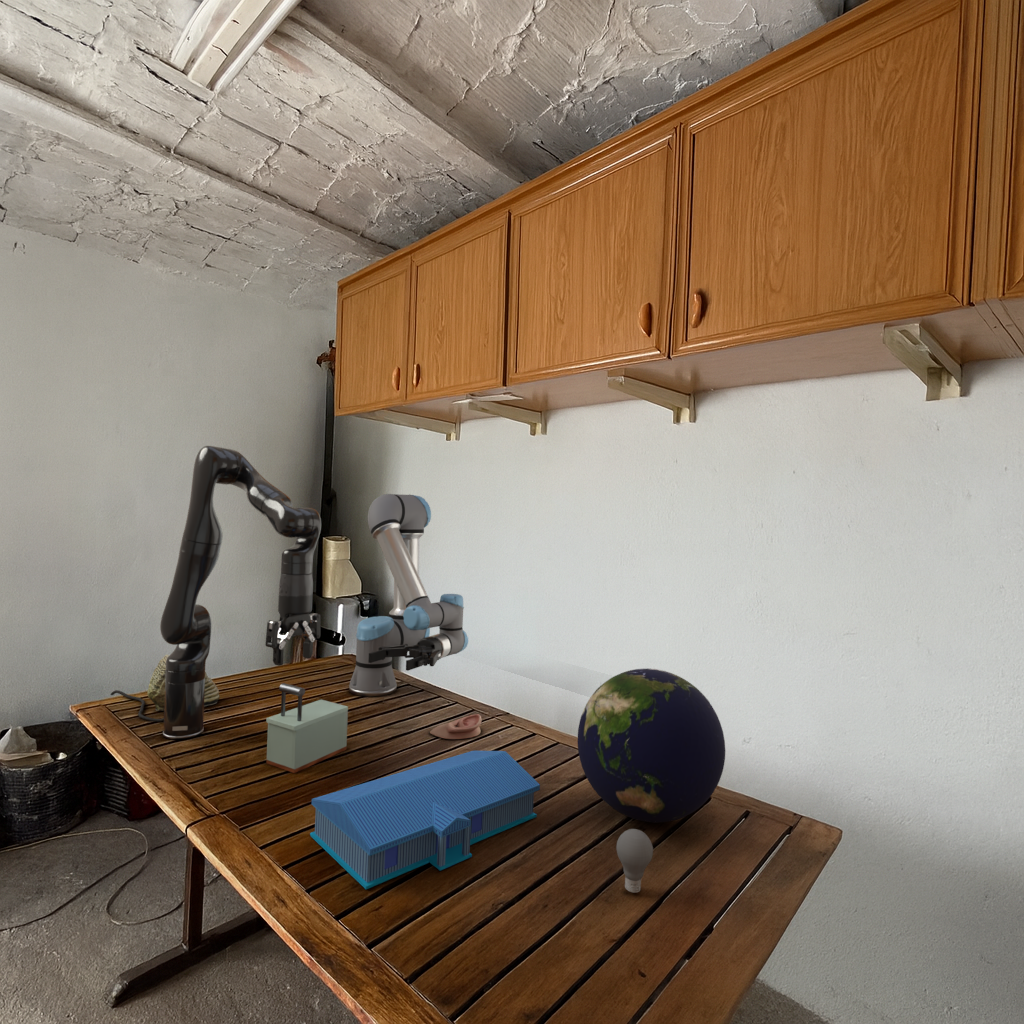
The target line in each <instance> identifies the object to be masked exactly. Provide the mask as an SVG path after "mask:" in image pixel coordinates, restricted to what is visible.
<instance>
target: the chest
mask: <svg viewBox="0 0 1024 1024" xmlns="http://www.w3.org/2000/svg"><path fill="white" fill-rule="evenodd" d="M348 718H349V710H348V711H345V712H343V713H340V714H337V715H335V716H332V717H329V718H327V719H324V720H321V721H319V722H316V723H314V724H311V725H308V726H306V727H303V728H300V729H298V730H295V731H293V730H290V729H287V728H284V727H280V726H277V725H274V724H270V723H267V736H266V737H267V738H266V739H267V741H266V760H265V761H266V764H267V765H270V766H273V767H276V768H279V769H281V770H283V771H287V772H290V773H293V774H296V773H298V772H300V771H303V770H305V769H307V768H309V767H311V766H313V765H316V764H318V763H320V762H322V761H324V760H326V759H329V758H331V757H333V756H335V755H338V754H339V753H342V752H344V751H347V748H348V747H347V746H348V745H347V743H348Z"/></svg>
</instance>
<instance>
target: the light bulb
mask: <svg viewBox="0 0 1024 1024" xmlns="http://www.w3.org/2000/svg"><path fill="white" fill-rule="evenodd" d="M615 849H616V854H617V857H618V859H619V861H620V863H621V865H622V867H623V873H624V874H623V875H624V876H625V878H624V888H625V890H627V891H628V892H630V893H634V894H635V893H639V892H640V891H641V889H642V887H641V886H642V879H643V877H644V875H645V871H646V868H647V867H648V866H649V864H650V863H651V861H652V859H653V855H654V847H653V843H652V841H651V838H649V836H648V835H647V834H646V833H645V832H643V831H642V830H641V829H636V828H629V829H627V830H625V831H623V832H622V833H621V834H620V835H619V837H618V839H617V841H616V847H615Z"/></svg>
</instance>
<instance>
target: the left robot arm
mask: <svg viewBox="0 0 1024 1024" xmlns="http://www.w3.org/2000/svg"><path fill="white" fill-rule="evenodd" d="M216 484H219V485H226V486H227V485H231V486H234V487H237V488H239V489H241V490H243V491H244V492H245V495H246V499H247V502H248V503H249V504H250V505H251V506H252V507H253V508H254V510H256V511H257V512H259V513H260V514H261V515H263V516H264V517H265V518H266V519H267V520H268V522H269V524H270V526H271V527H272V528H273V530H274V531H275V532H276V534H278V535H280V536H282V537H284V538H289V539H295V538H296V539H295V541H294V543H293V545H292V546H289V547H287V548H284V549H283V550H282V551H281V555H280V556H281V557H280V575H279V581H278V599H277V600H278V603H277V611H278V613H279V619H278V620H271V619H269V620H268V621H267V622H266V635H265V647H267V648H271V649H272V662H273V664H274V665H275V666H279V667H280V666H283V665H284V647H285V645H286V644H287V642H289V641H290V640H291V638H294V637H297V636H301V638H302V639H303V643H302V657H303V658H304V659H311V658H312V656H313V652H314V642H315V640H317V639H320V638H321V614H320V613H314V612H312V610H313V590H314V581H313V565H314V564H313V561H314V560H313V559H314V554H315V551H316V548H317V545H318V541H319V538H320V534H321V531H322V518H321V515H320V513H319V512H318V510H316V509H314V508H313V507H301V506H300V507H295V506H294V507H293V505H294V504H293V501H292V499H291V498H290V497H289V496H288V495H287V494H286V493H284V492H283V491H281V490H280V489H279V488H278V487H276V486H275V485H273V484H272V483H271V482H269V481H268V480H267V479H266V478H264V476H263V475H261V474H260V473H259V471H258V470H257V469H256V468H255V467H254V466H253V465H252V464H251V462H250V461H249V460H248V459H247V458H246V457H245V456H244V455H243V454H242V453H241V452H239V451H237V450H235V449H230V448H226V447H220V446H214V445H205V446H203V447H202V448H200V449H199V451H198V452H197V455H196V457H195V460H194V463H193V469H192V478H191V490H190V497H189V504H188V511H187V515H186V516H187V517H186V520H185V525H184V529H183V533H182V536H181V541H180V542H181V543H180V547H179V550H178V551H179V552H178V558H177V563H176V567H175V571H174V576H173V579H172V582H171V583H172V584H171V588H170V591H169V594H168V597H167V600H166V603H165V605H164V609H163V612H162V615H161V619H160V623H159V625H160V626H159V631H160V634H161V637H162V638H163V640H164V641H165V642H166V643H167V644H169V645H172V646H176V647H175V648H174V649H173V651H172V652H171V653H170V654H168V655H169V656H168V658H167V659H166V674H165V705H164V710H163V717H162V718H152V717H150V716H145V715H143V714H142V713H143V711H144V708H145V706H146V702H145V700H144V699H143V698H141V697H139V696H133V695H130V694H128V693H125V692H124V691H121V690H118V689H117V690H114V691H112V692H111V693H110V696H114V695H115V694H119V695H121V696H122V697H125V698H126V699H130V700H135V701H138V702H141V705H140V709H139V711H138V713H137V716H138V717H139V718H140V719H142V720H144V721H148V722H155V723H156V722H157V723H161V722H163V731H162V737H164V738H166V739H169V740H185V739H190V738H191V739H192V738H194V737H197V736H199V735H202V734H203V732H204V730H205V729H204V722H205V721H204V718H205V706H204V693H205V672H206V664H207V663H206V662H207V658H208V656H209V653H210V649H211V639H212V617H211V614H210V612H209V610H208V609H207V608H206V607H205V606H203V605H201V604H197V602H198V601H197V600H198V597H199V594H200V591H201V589H202V587H203V586H204V584H205V583H206V581H207V580H208V578H209V577H210V576H211V574H212V572H213V570H214V569H215V567H216V565H217V562H218V561H219V557H220V553H221V547H222V543H223V536H224V535H223V530H222V526H221V523H220V521H219V519H218V516H217V513H216V510H215V506H214V495H215V488H216Z"/></svg>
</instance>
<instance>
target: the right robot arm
mask: <svg viewBox="0 0 1024 1024" xmlns="http://www.w3.org/2000/svg"><path fill="white" fill-rule="evenodd" d="M367 511H368V512H367V524H368V529H369V532H370V534H371V536H372V538H373V539H375V540H377V542H378V545H379V547H380V549H381V551H382V554H383V556H384V558H385V561H386V564H387V565H388V568H389V570H390V573H391V575H392V577H393V607H392V609H391V610H389V612H388V616H386V615H378V616H370V617H367V618H364V619H362V620H360V621H359V622H358V624H357V630H356V635H355V636H356V648H355V649H356V650H355V651H356V652H355V668H354V670H353V673H352V675H351V678H350V681H349V685H348V691H349V692H350V693H351V694H352V695H356V696H359V697H360V696H361V697H369V698H371V697H384V696H388V695H390V694H394V693H395V692H396V691H397V686H398V685H397V680H396V677H395V672H394V669H393V658H399V657H404V658H405V659H407V660H405V671H407V672H408V671H412V670H415V669H417V668H420V667H423V666H424V667H426V666H428V665H429V667H434V666H435V665H436V664H437V662H438V661H440V660H441V659H443V658H446V657H449V656H452V655H456V654H459V653H460V652H462V651H464V650H466V648H467V647H468V644H469V637H468V634H467V632H466V631H465V630H463V626H464V608H465V607H464V597H463V595H462V594H458V593H444V594H441V596H440V599H439V601H438V602H431V600H430V597H429V595H428V593H427V591H426V588H425V586H424V584H423V582H422V579H421V577H420V539H421V538H422V536H423V535H425V528H426V527H428V526H429V523H430V522H431V520H432V509H431V507H430V504H429V503H428V501H427V500H426V499H425V498H424V497H422V496H420V495H414V494H399V493H398V494H395V493H384V494H381V495H379V496H378V497H376V498H374V500H373V501H372V502H371V503H370V506H369V508H368V510H367ZM437 627H439V633H437V634H432V635H431V634H430V633H431V629H432V628H437Z"/></svg>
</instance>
